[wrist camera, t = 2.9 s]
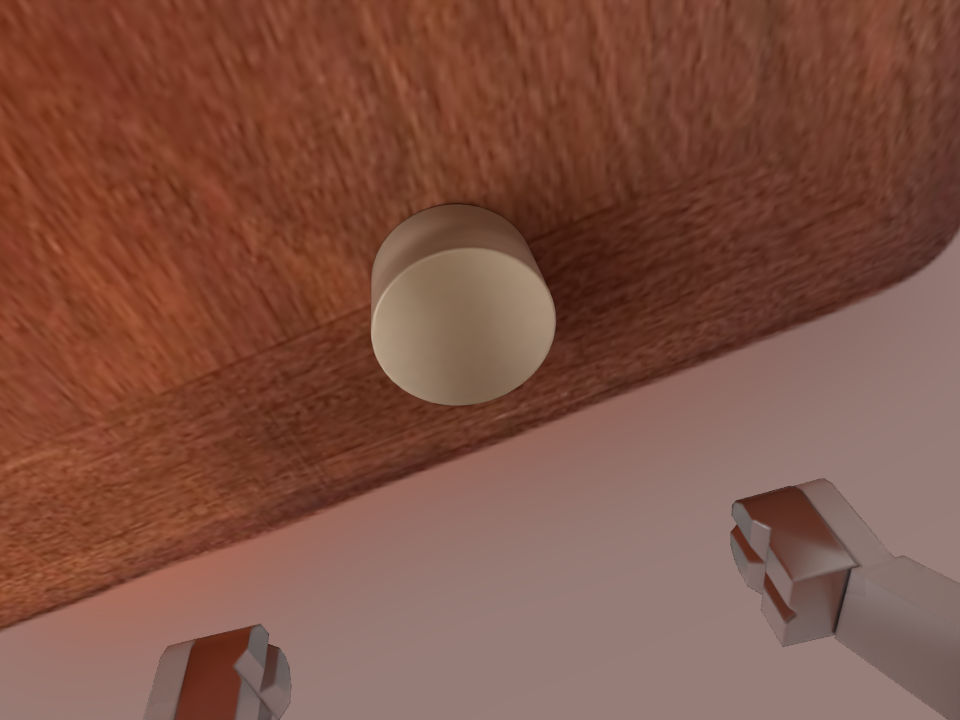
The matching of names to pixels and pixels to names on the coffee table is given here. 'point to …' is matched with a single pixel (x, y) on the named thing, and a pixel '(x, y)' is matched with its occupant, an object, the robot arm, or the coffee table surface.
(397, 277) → the cylinder
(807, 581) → the robot arm
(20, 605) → the coffee table surface
